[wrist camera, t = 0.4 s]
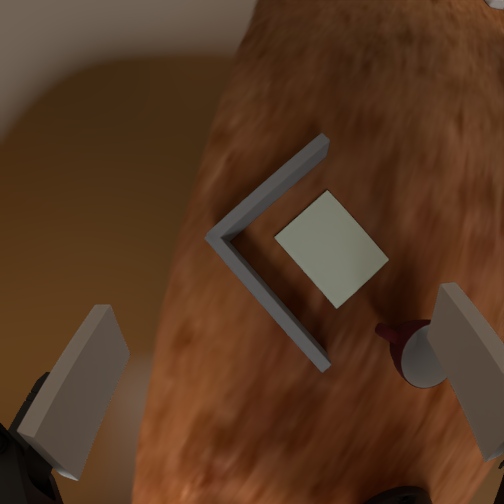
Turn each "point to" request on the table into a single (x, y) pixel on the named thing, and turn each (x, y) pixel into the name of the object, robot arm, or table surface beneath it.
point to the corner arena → (303, 246)
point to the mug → (413, 353)
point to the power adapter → (495, 4)
